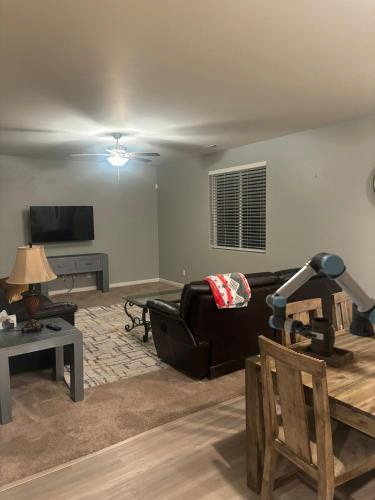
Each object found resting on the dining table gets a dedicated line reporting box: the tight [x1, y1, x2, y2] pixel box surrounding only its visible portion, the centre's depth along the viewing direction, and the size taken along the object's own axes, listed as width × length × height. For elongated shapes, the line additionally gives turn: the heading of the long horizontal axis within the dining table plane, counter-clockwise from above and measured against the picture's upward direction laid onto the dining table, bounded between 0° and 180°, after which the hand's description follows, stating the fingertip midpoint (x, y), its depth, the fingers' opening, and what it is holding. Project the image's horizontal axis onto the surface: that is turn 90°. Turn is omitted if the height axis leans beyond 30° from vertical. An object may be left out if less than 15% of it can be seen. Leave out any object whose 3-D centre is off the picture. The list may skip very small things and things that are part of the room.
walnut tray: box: [297, 343, 354, 369], centre depth 201 cm, size 18×22×4 cm
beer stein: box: [310, 316, 336, 357], centre depth 200 cm, size 15×11×20 cm
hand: (329, 334), depth 198 cm, fingers open, 13 cm apart
